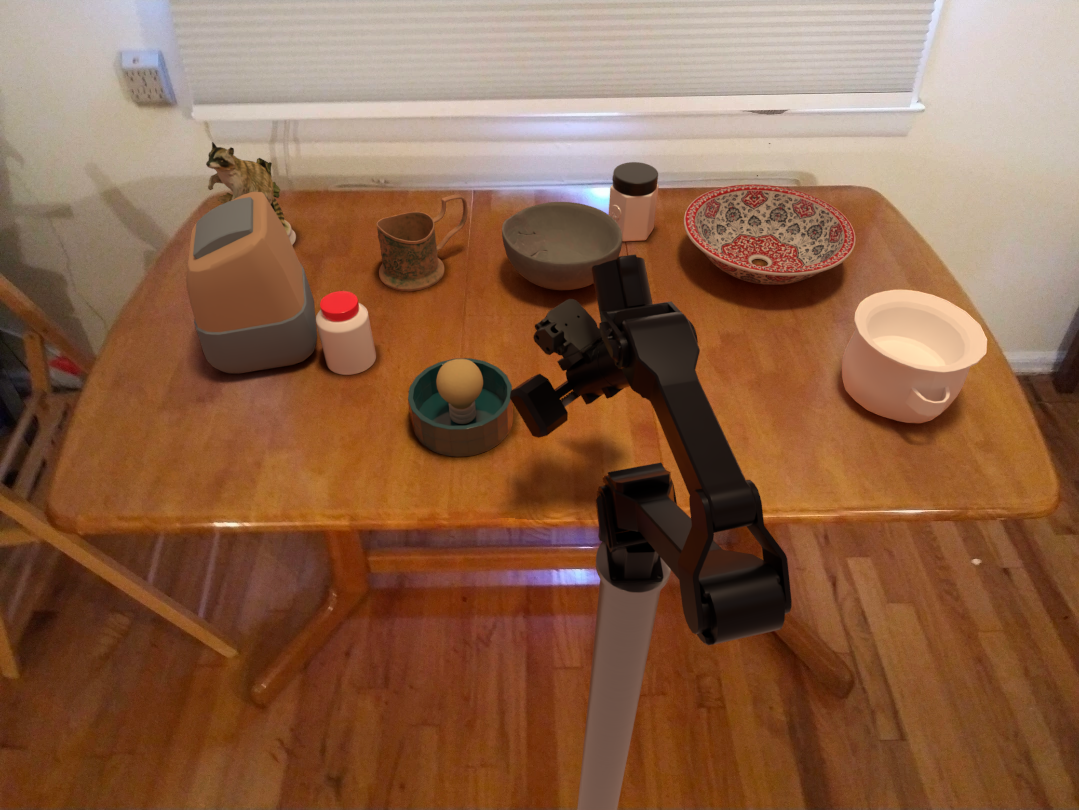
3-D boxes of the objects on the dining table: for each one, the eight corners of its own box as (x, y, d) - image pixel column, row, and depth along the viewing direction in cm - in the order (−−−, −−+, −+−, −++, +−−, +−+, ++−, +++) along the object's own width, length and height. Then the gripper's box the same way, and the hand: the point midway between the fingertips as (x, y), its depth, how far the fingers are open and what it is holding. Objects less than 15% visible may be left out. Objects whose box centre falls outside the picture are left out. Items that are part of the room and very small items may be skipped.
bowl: (601, 322, 129) (605, 271, 122) (486, 298, 133) (483, 248, 126) (631, 257, 142) (636, 208, 135) (525, 237, 147) (525, 189, 140)
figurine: (215, 251, 144) (180, 148, 130) (266, 217, 152) (239, 117, 138) (262, 268, 140) (231, 164, 126) (312, 233, 148) (288, 132, 134)
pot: (817, 343, 125) (837, 280, 116) (926, 345, 124) (955, 282, 116) (851, 443, 109) (878, 379, 101) (977, 447, 109) (1014, 382, 100)
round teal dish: (513, 455, 108) (512, 428, 104) (408, 458, 107) (403, 430, 103) (512, 384, 118) (511, 357, 114) (417, 386, 117) (412, 359, 114)
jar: (598, 226, 150) (602, 168, 141) (631, 213, 153) (636, 156, 145) (629, 247, 145) (634, 189, 136) (662, 234, 148) (669, 175, 140)
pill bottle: (335, 340, 125) (322, 284, 118) (382, 345, 124) (372, 288, 117) (319, 372, 120) (304, 315, 112) (368, 377, 119) (356, 320, 111)
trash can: (214, 320, 129) (167, 193, 113) (317, 305, 132) (286, 179, 116) (210, 387, 117) (157, 256, 101) (323, 368, 120) (289, 238, 104)
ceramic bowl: (712, 207, 155) (718, 169, 150) (860, 247, 145) (873, 209, 139) (652, 281, 137) (657, 242, 131) (817, 333, 127) (829, 293, 121)
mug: (485, 266, 140) (482, 206, 132) (397, 298, 133) (388, 238, 125) (453, 237, 147) (448, 178, 139) (368, 267, 140) (357, 207, 132)
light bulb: (482, 399, 115) (478, 347, 108) (488, 430, 110) (484, 377, 103) (438, 405, 114) (432, 352, 107) (443, 436, 109) (436, 383, 102)
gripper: (637, 262, 88) (564, 300, 102) (520, 337, 79) (456, 368, 92) (684, 347, 90) (606, 373, 103) (575, 430, 80) (504, 447, 94)
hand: (545, 388), depth 98 cm, fingers open, 9 cm apart
